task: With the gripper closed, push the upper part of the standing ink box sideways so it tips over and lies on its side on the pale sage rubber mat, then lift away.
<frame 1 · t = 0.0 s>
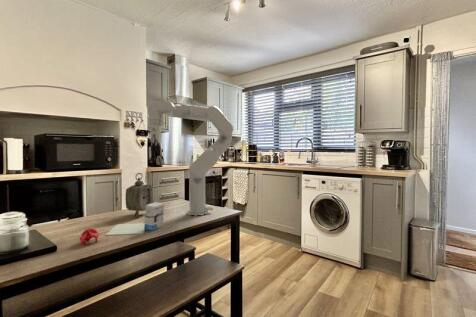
hand: (155, 152, 150), 37 cm above the table, tool pointing down, fingers open, 9 cm apart
red hair claw clip: (89, 243, 107), on the table
ink box: (153, 228, 126), on the table, touching mat
mat: (129, 229, 124), on the table
tabletop clock: (139, 215, 151), on the table
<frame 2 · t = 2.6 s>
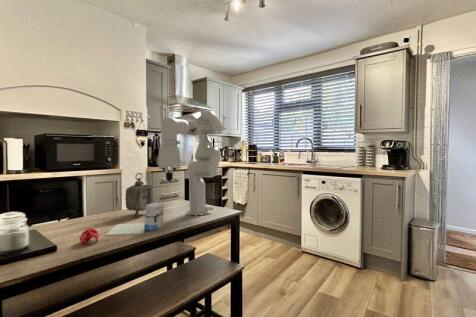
hand: (169, 180, 126), 23 cm above the table, tool pointing down, fingers closed
nothing on the table moved.
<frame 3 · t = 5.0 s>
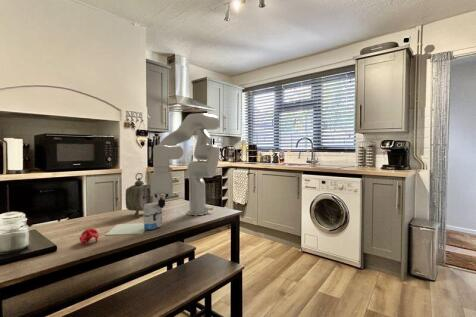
hand: (161, 207, 126), 10 cm above the table, tool pointing down, fingers closed
ink box: (153, 227, 126), on the table, touching gripper, mat
everything else where it was.
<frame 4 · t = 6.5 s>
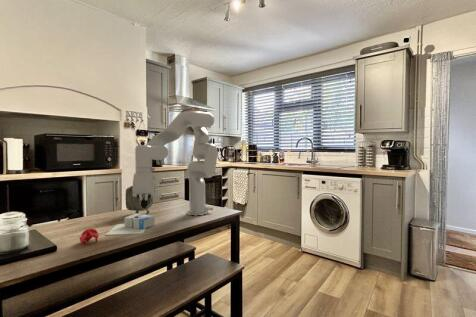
hand: (144, 207, 125), 10 cm above the table, tool pointing down, fingers closed
ink box: (149, 222, 126), point 3 cm above the table, touching mat
everything else where it was.
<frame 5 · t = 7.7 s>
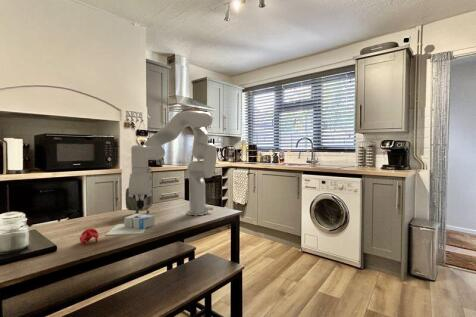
hand: (140, 208, 125), 10 cm above the table, tool pointing down, fingers closed
nothing on the table moved.
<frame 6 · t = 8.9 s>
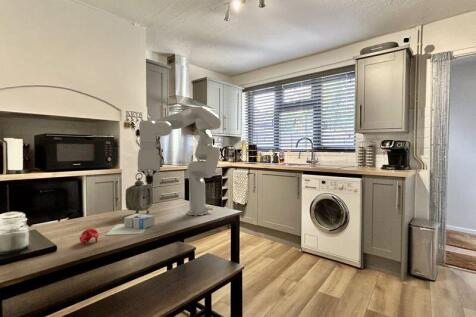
hand: (149, 183, 125), 22 cm above the table, tool pointing down, fingers closed
nothing on the table moved.
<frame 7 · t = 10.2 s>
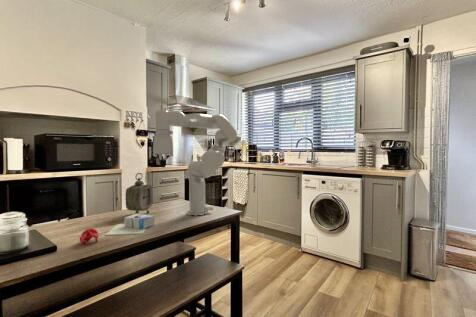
hand: (163, 167, 139), 29 cm above the table, tool pointing down, fingers closed
nothing on the table moved.
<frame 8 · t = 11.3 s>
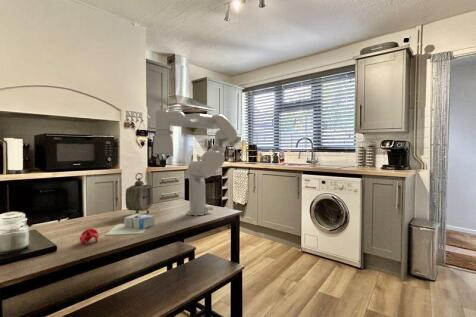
hand: (163, 167, 139), 29 cm above the table, tool pointing down, fingers closed
nothing on the table moved.
at the end: ink box tilted 90°; ink box touching mat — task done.
